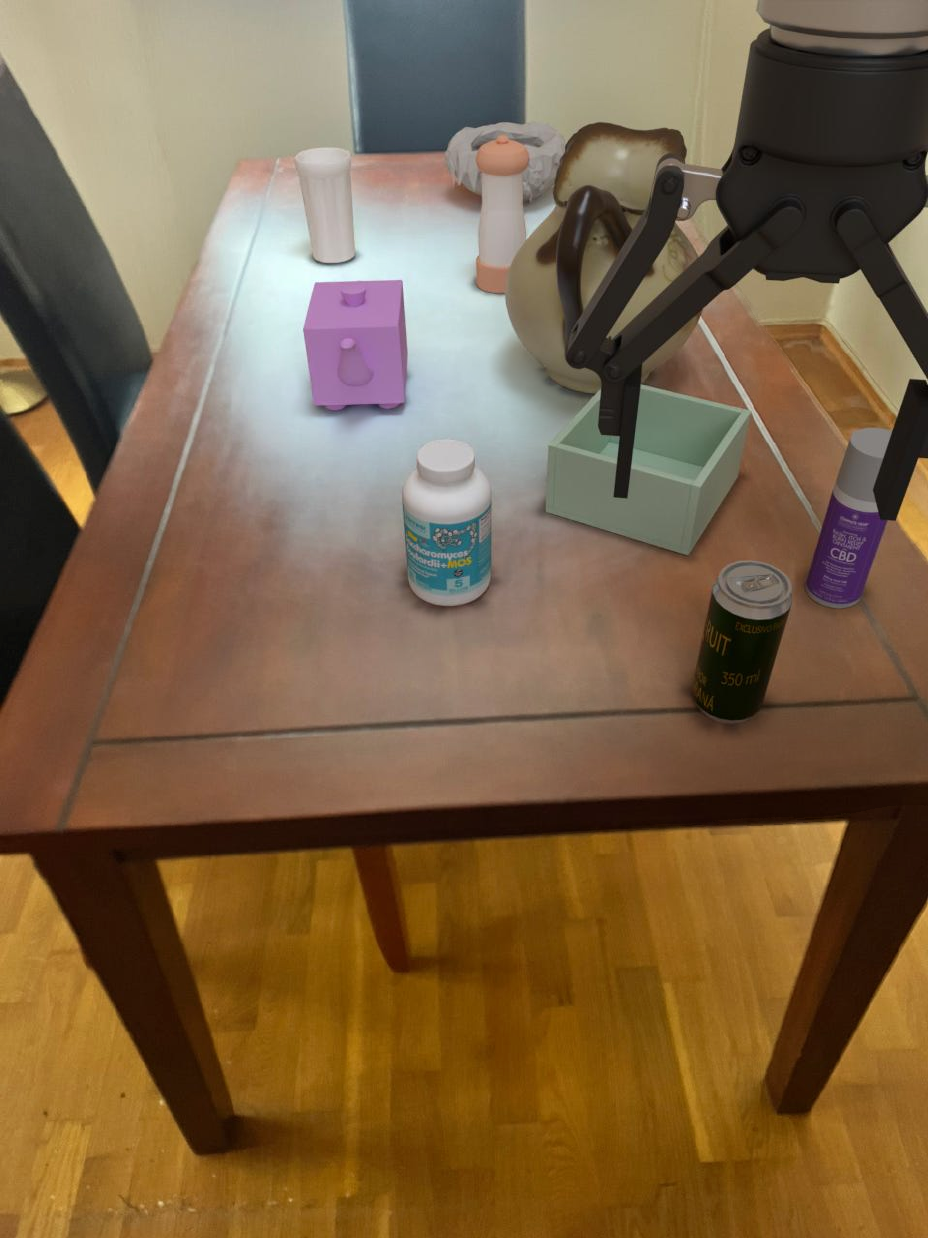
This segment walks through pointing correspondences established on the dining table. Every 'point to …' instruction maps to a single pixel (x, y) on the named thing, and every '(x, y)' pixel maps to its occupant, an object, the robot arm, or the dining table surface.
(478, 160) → the pepper shaker
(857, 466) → the container
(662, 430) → the bin
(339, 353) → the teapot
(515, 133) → the bowl
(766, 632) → the beer can
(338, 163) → the cup
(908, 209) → the robot arm
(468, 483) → the pill bottle
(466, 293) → the dining table surface
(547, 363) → the pitcher
